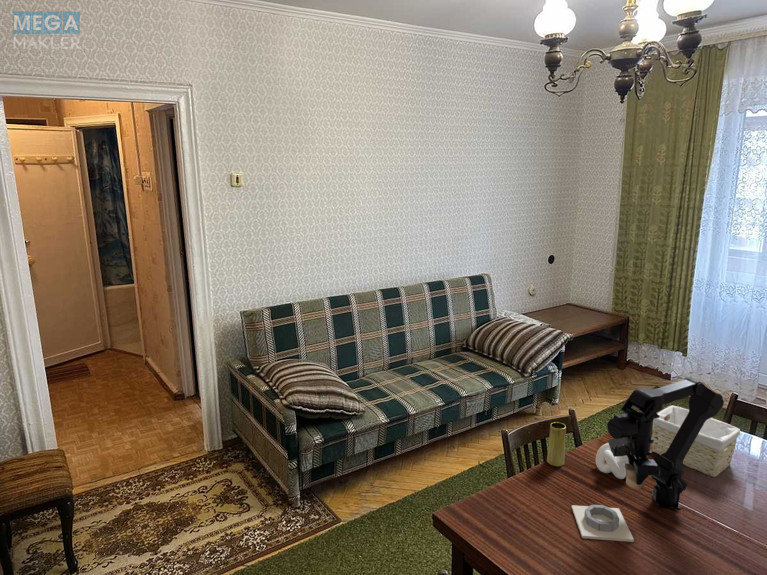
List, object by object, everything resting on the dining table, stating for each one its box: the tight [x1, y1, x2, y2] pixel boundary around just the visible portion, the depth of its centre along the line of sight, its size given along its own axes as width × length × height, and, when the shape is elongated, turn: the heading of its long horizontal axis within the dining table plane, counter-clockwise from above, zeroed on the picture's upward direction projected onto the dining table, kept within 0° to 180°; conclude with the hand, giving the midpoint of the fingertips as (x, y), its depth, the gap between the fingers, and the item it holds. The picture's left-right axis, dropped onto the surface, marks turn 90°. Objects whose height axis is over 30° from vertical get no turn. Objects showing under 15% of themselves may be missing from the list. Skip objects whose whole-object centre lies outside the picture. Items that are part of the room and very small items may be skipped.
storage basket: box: [651, 405, 741, 478], centre depth 191 cm, size 24×16×15 cm
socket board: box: [571, 504, 635, 543], centre depth 158 cm, size 14×14×3 cm
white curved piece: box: [595, 442, 629, 480], centre depth 184 cm, size 11×12×9 cm
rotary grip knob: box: [625, 463, 646, 490], centre depth 161 cm, size 6×5×6 cm
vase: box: [546, 421, 567, 467], centre depth 190 cm, size 6×6×14 cm
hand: (635, 479), depth 162 cm, fingers closed on rotary grip knob, 5 cm apart
